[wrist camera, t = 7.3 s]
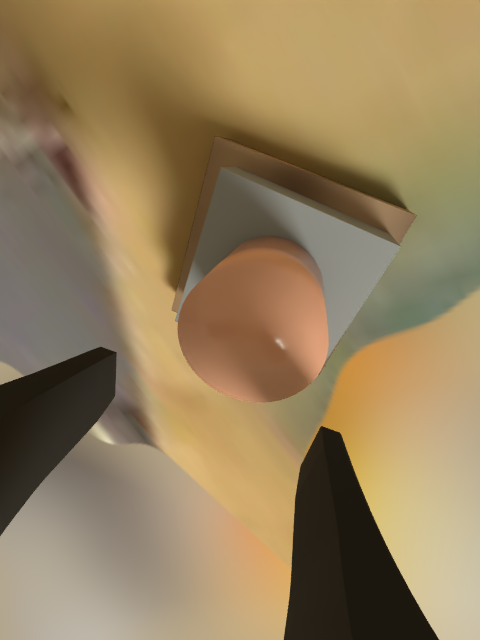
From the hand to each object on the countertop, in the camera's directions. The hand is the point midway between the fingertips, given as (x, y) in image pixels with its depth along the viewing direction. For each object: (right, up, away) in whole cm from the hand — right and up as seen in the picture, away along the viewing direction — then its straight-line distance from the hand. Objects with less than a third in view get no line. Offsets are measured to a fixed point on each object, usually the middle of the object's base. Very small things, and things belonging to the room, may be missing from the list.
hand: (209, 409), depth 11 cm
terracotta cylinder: (+2, +4, +4) cm, 6 cm away
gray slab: (+3, +6, +6) cm, 9 cm away
